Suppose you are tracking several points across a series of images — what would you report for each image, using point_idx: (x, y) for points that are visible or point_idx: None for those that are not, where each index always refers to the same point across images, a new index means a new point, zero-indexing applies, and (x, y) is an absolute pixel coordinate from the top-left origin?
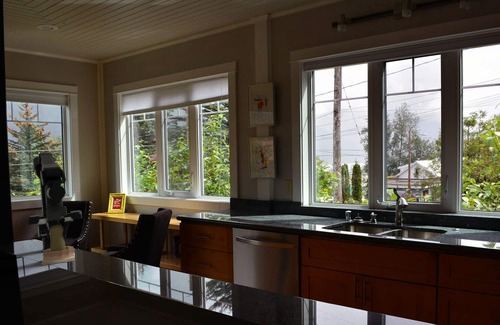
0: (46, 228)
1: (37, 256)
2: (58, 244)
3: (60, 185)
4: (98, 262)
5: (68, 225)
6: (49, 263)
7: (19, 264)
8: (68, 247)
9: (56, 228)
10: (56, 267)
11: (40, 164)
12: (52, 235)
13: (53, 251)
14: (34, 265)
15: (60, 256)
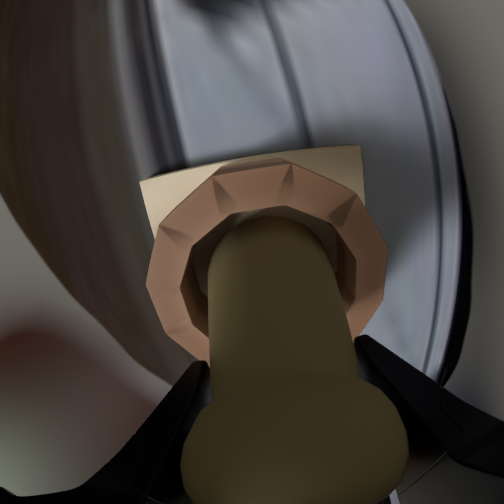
0: (465, 439)
1: None
2: (256, 273)
3: None
4: (22, 85)
5: (84, 483)
6: (308, 148)
7: (453, 261)
8: (199, 329)
9: (285, 469)
10: (230, 31)
11: None
12: (347, 368)
13: (302, 239)
14: (396, 183)
15: (228, 167)
